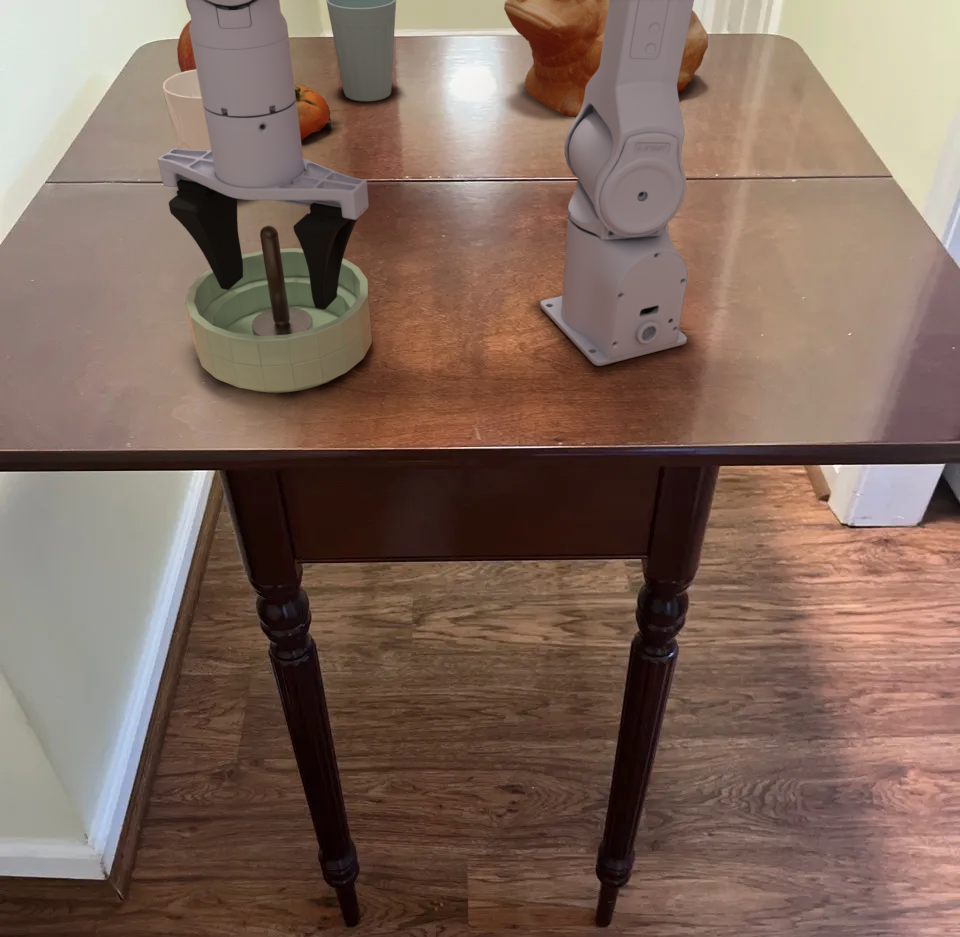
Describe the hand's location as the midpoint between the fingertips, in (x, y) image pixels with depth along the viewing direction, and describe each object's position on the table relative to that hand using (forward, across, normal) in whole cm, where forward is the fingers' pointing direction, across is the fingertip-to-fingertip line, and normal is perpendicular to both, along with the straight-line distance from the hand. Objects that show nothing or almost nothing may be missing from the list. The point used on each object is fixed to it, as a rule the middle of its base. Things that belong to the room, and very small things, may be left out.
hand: (278, 292), depth 69 cm
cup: (+5, +18, -51) cm, 54 cm away
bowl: (+5, 0, 0) cm, 5 cm away
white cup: (+5, +19, -23) cm, 31 cm away
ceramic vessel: (+5, -8, -62) cm, 63 cm away
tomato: (+5, +20, -38) cm, 43 cm away
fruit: (+5, +32, -44) cm, 55 cm away
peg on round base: (+4, 0, 0) cm, 4 cm away
